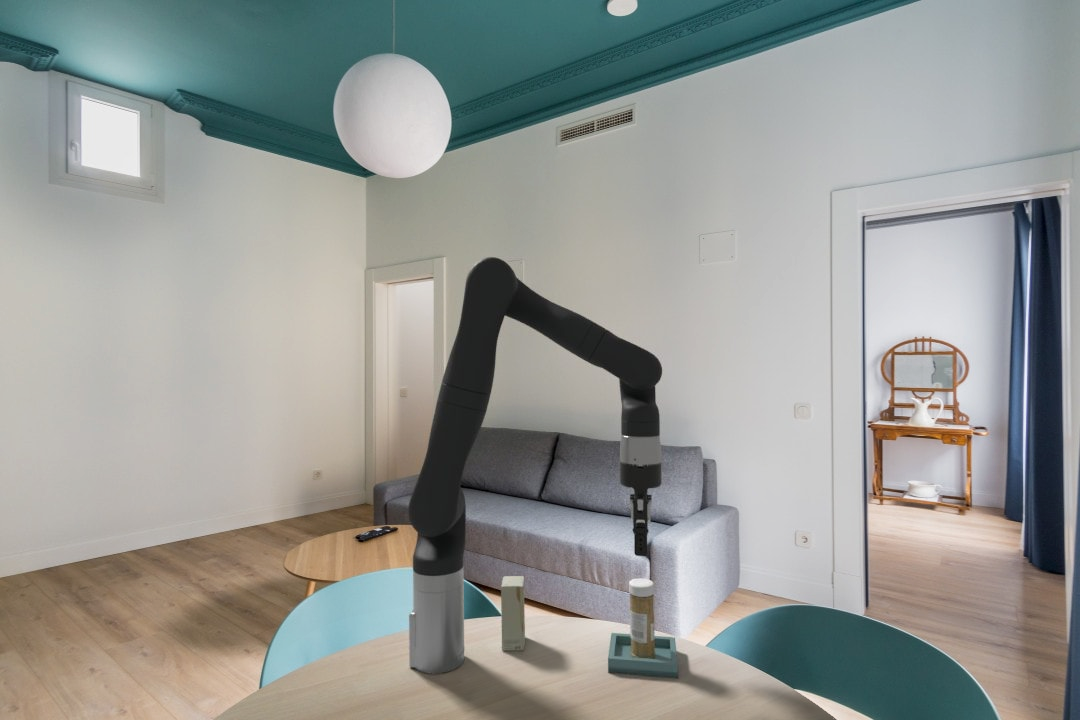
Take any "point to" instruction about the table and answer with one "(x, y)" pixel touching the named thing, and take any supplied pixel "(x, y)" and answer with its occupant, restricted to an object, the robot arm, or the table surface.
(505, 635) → the skincare box
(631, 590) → the sprinkles bottle
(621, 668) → the tray
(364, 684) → the table surface
